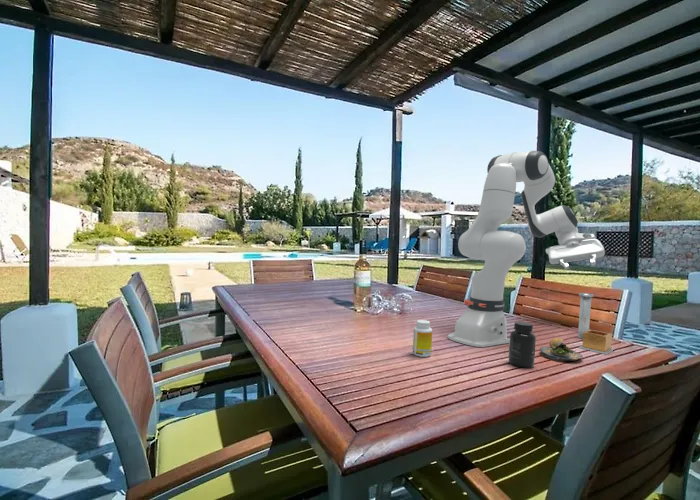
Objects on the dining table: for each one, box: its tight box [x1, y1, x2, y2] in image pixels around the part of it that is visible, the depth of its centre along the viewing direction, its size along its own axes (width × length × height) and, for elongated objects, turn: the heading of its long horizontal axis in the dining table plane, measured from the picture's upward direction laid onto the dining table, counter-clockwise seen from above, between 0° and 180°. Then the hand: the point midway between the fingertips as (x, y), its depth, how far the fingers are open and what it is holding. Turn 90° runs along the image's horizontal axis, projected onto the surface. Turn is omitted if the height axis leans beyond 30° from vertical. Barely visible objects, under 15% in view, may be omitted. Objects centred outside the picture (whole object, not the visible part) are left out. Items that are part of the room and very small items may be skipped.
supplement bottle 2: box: [508, 321, 537, 369], centre depth 108 cm, size 7×7×12 cm
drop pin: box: [577, 292, 594, 340], centre depth 140 cm, size 5×5×17 cm
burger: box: [539, 334, 584, 363], centre depth 117 cm, size 12×12×8 cm
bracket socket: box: [578, 328, 615, 355], centre depth 127 cm, size 8×8×6 cm
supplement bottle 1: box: [412, 319, 433, 358], centre depth 114 cm, size 6×6×10 cm
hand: (580, 266), depth 151 cm, fingers open, 8 cm apart
